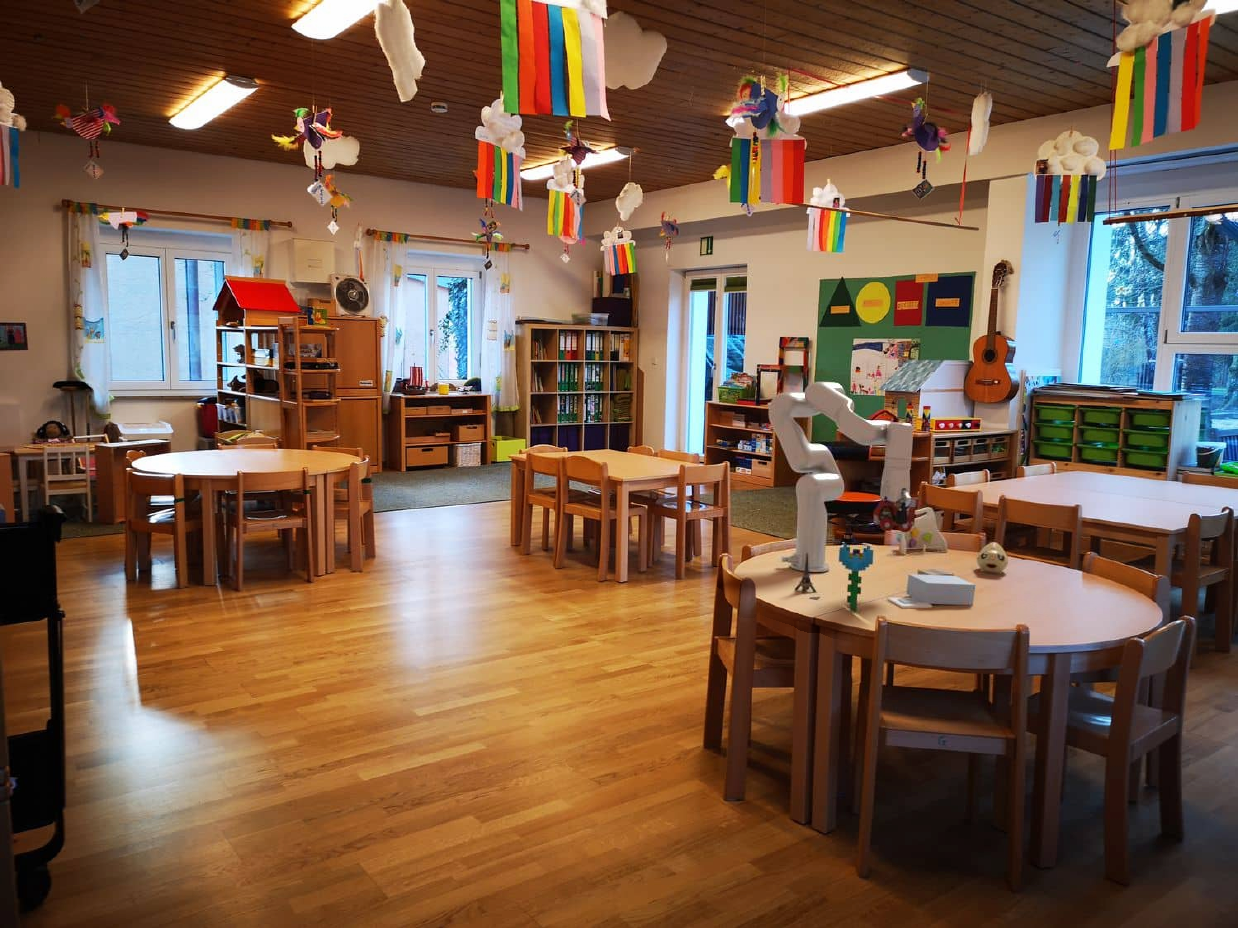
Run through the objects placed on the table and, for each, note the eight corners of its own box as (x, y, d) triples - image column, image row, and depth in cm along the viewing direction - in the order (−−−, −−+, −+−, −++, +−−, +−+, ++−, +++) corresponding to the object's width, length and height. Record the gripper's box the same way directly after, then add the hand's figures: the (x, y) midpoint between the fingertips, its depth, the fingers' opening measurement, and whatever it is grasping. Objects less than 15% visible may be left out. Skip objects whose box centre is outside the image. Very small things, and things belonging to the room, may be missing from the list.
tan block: (930, 594, 266) (931, 574, 265) (916, 588, 273) (917, 569, 272) (953, 593, 268) (954, 573, 267) (939, 587, 275) (940, 568, 274)
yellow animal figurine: (974, 575, 292) (976, 544, 291) (976, 568, 303) (978, 538, 302) (1006, 579, 288) (1009, 547, 287) (1007, 572, 299) (1009, 541, 298)
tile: (902, 608, 248) (902, 604, 248) (887, 599, 257) (887, 596, 257) (931, 607, 250) (932, 604, 250) (916, 599, 259) (916, 596, 258)
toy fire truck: (871, 526, 270) (873, 492, 269) (913, 529, 268) (915, 495, 267) (873, 530, 263) (875, 496, 262) (916, 533, 261) (919, 498, 260)
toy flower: (869, 615, 239) (873, 550, 237) (835, 612, 242) (839, 548, 240) (870, 607, 248) (873, 544, 246) (837, 604, 250) (840, 542, 248)
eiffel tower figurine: (817, 601, 255) (820, 556, 254) (783, 596, 259) (785, 552, 258) (829, 590, 269) (831, 547, 267) (796, 586, 273) (798, 544, 272)
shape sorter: (928, 551, 332) (931, 505, 330) (947, 557, 322) (951, 509, 320) (885, 554, 325) (888, 506, 323) (904, 560, 315) (907, 511, 313)
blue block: (925, 603, 251) (927, 583, 251) (906, 593, 262) (908, 574, 262) (973, 605, 254) (975, 584, 254) (952, 595, 265) (954, 575, 264)
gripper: (872, 460, 271) (869, 515, 273) (899, 467, 254) (895, 526, 256) (895, 460, 272) (891, 516, 274) (923, 467, 255) (919, 526, 257)
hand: (893, 520), depth 265 cm, fingers closed on toy fire truck, 8 cm apart
